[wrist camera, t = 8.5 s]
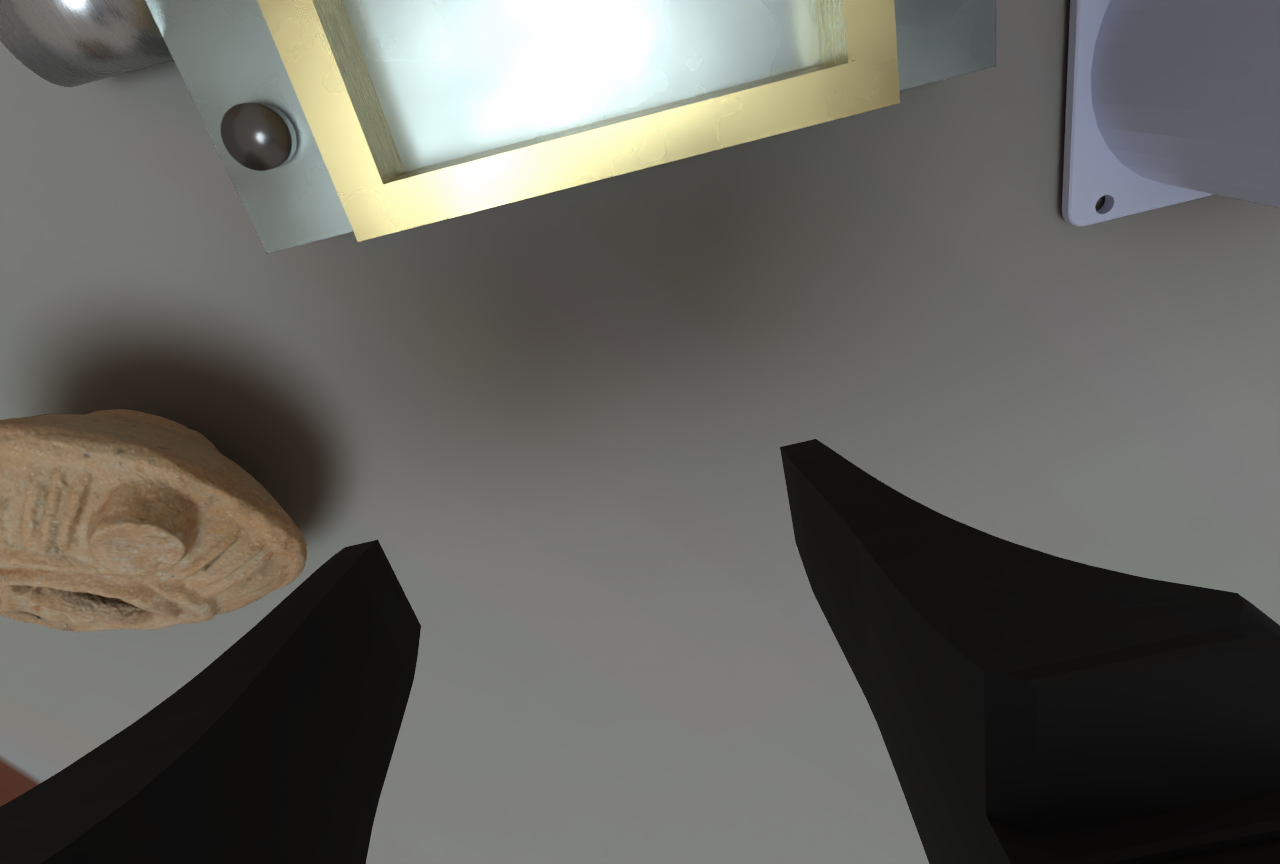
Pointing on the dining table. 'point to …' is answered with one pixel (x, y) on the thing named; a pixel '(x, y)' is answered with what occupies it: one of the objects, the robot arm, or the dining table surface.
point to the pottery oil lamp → (132, 524)
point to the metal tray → (491, 88)
